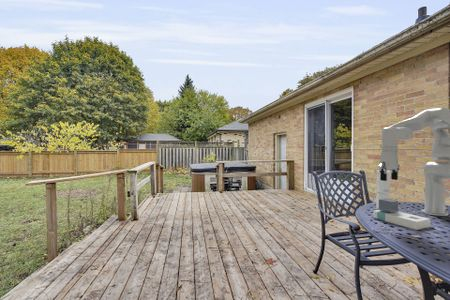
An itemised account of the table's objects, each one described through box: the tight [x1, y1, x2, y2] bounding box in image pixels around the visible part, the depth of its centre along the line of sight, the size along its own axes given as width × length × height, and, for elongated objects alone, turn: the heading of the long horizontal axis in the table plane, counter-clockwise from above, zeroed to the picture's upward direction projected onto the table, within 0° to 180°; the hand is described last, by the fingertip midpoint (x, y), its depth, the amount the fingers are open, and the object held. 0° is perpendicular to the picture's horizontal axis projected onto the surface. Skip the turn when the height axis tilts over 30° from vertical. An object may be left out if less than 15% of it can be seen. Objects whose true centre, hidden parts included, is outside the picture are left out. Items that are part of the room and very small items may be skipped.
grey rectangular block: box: [379, 198, 399, 213], centre depth 139 cm, size 6×7×10 cm
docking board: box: [372, 209, 431, 231], centre depth 133 cm, size 22×12×4 cm, turn 25°
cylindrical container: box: [375, 169, 391, 210], centre depth 160 cm, size 7×7×25 cm
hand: (389, 180), depth 139 cm, fingers open, 9 cm apart
